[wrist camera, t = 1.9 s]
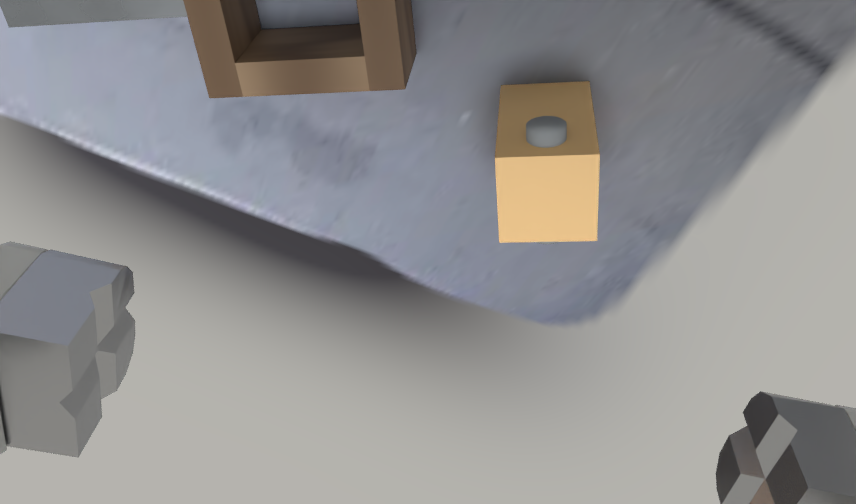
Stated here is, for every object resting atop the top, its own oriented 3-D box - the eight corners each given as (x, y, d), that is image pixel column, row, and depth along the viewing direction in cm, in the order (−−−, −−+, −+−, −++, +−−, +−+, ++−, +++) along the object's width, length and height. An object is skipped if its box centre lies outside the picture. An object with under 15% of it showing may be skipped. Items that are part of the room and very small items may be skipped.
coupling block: (589, 68, 36) (600, 140, 30) (587, 169, 39) (596, 252, 33) (500, 72, 36) (494, 143, 31) (504, 172, 39) (499, 254, 34)
